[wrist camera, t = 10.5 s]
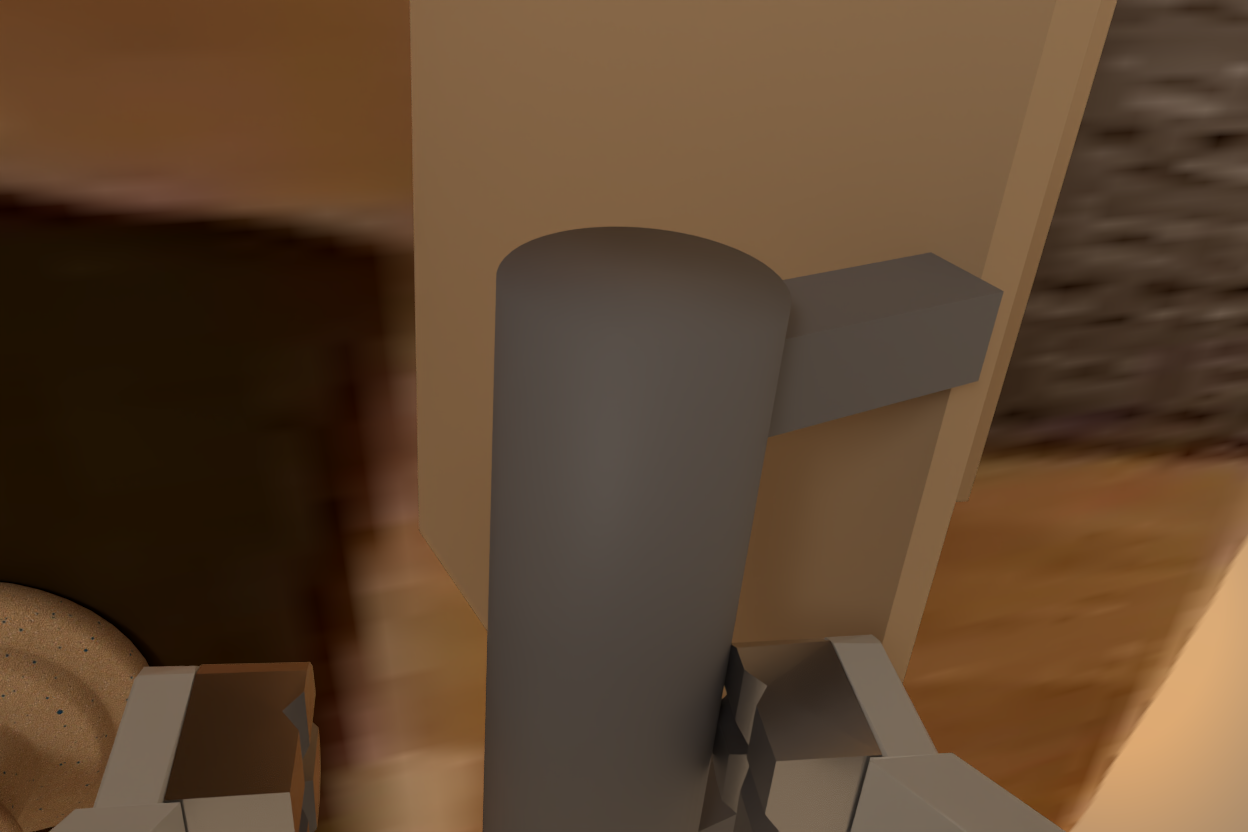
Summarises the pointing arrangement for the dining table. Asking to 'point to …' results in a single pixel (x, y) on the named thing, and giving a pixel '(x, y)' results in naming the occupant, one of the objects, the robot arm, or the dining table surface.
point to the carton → (1038, 240)
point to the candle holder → (57, 704)
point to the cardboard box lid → (705, 346)
